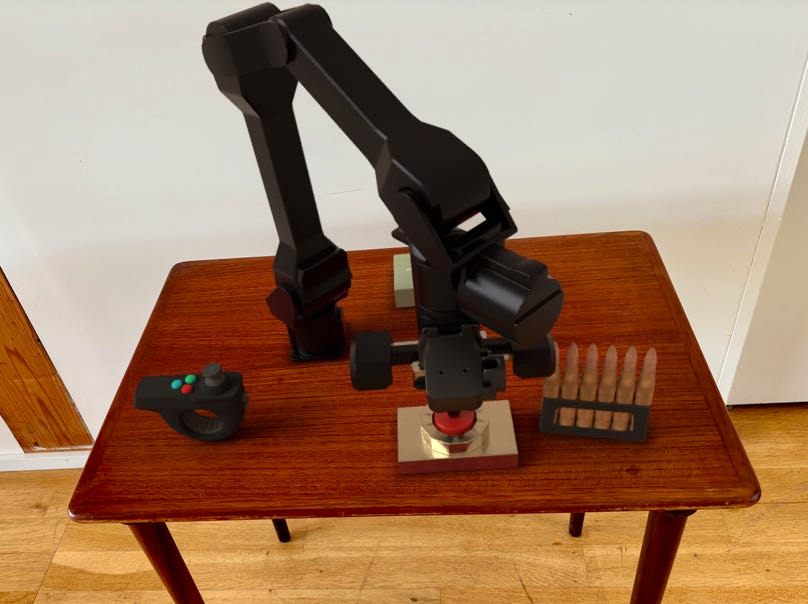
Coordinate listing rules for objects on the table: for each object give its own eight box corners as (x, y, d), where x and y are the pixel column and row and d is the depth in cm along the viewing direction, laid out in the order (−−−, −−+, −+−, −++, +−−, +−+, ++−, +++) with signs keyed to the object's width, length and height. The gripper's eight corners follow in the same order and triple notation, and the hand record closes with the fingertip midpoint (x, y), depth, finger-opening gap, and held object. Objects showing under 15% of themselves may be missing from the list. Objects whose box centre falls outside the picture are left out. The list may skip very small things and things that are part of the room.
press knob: (436, 444, 72) (435, 430, 71) (434, 415, 75) (433, 402, 74) (476, 441, 72) (475, 427, 71) (472, 412, 75) (472, 399, 74)
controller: (254, 447, 78) (232, 382, 72) (149, 448, 80) (117, 385, 74) (262, 418, 82) (241, 354, 75) (161, 420, 83) (131, 357, 77)
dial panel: (396, 309, 93) (394, 290, 91) (395, 271, 100) (393, 252, 98) (488, 301, 92) (488, 281, 90) (481, 263, 99) (481, 244, 97)
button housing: (400, 475, 73) (396, 449, 70) (398, 421, 79) (395, 396, 76) (518, 467, 72) (518, 441, 69) (508, 413, 78) (508, 387, 75)
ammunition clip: (645, 428, 74) (663, 341, 66) (646, 441, 72) (664, 355, 64) (539, 418, 76) (544, 334, 68) (538, 431, 75) (543, 346, 67)
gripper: (336, 363, 57) (361, 483, 67) (573, 344, 55) (561, 471, 66) (342, 280, 65) (363, 399, 76) (549, 262, 63) (541, 386, 74)
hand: (453, 414), depth 72 cm, fingers closed, pressing on press knob
